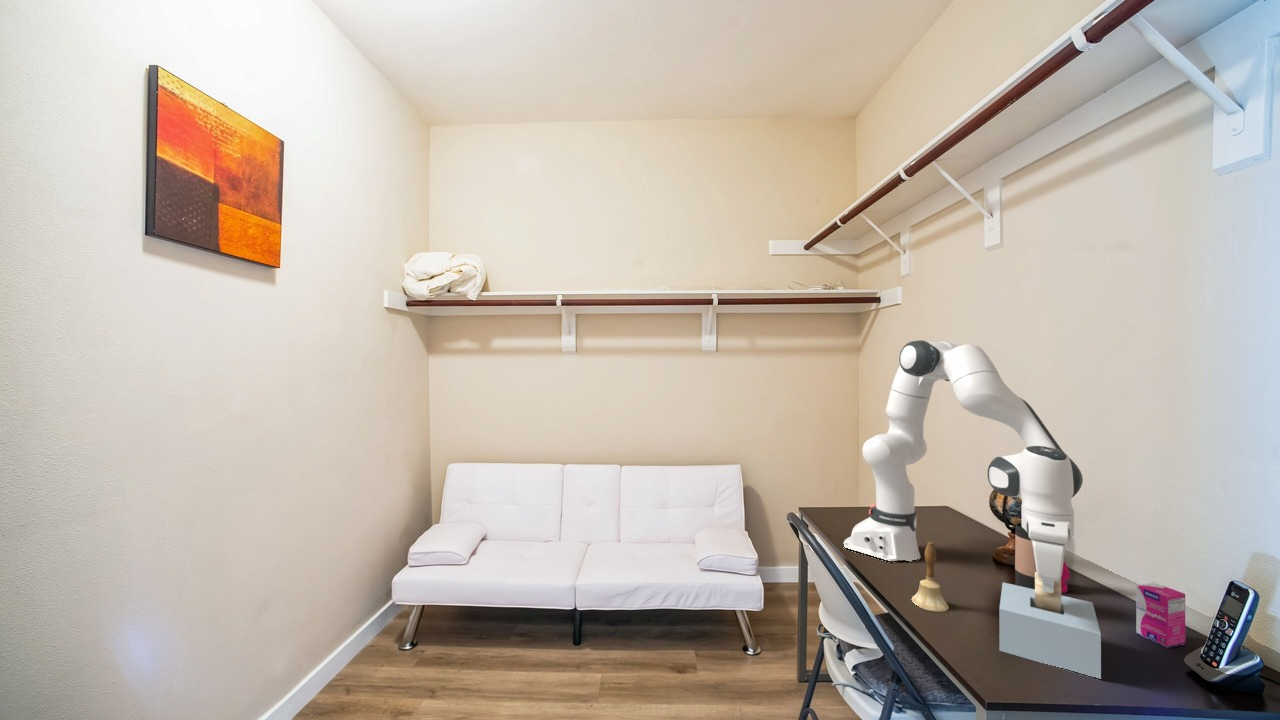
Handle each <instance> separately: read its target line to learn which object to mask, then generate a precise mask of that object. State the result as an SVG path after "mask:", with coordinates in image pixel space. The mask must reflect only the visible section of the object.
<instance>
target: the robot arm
mask: <svg viewBox="0 0 1280 720" xmlns="http://www.w3.org/2000/svg"><path fill="white" fill-rule="evenodd" d="M898 360H899V366H898V369H897V371H896V373H895V376H894V378H893V381H892V385H891V388H890V391H889V395H888V399H887V403H886V406H885V414H886V415H887V416H888V431H887V432H886V433H879V434H876V435H874V436H871V437H870V438H868V439H867V440H866V441H865V442H864V443H863V445H862V448H861V451H862V452H861V453H862V457H863V460H864V461H865V463H866V464H868V466H869V467H870V469H871V471H872V475H873V478H874V484H875V503H873V504H871V505H870V508H869V510H868V514H869V517H867V518H865V519H864V520H862V521H860V522H858V523H857V524H855V526H853V528H852V531H851V534H850V536H848V537H847V538H846V539H844V541H843V544H844V547H845V548H848V549H851V550H854V551H858V552H861V553H864V554H868V555H871V556H874V557H877V558H881V559H884V560H888V561H897V560H906V561H909V562H913V561H912V560H916V561H918V560H920V559H921V558H922V557H921V553H920V550H919V546H918V542H917V541H918V540H917V536H916V530H917V524H918V523H917V522H918V521H917V519H918V518H917V513H916V511H915V487H914V485H913V483H912V482H910V479H909V476H908V473H907V466H909V465H912V464H915V463H917V462H918V461H920V460H921V459H922V458H924V457H925V456H926V453H927V450H928V447H927V446H928V445H927V443H926V440H925V439H924V421H925V419H926V418H925V417H926V413H927V409H928V405H929V402H930V399H931V394H932V391H933V388H934V387H933V386H934V385H935V383H936V382H937V381H939V380H942V381H943V380H944V381H946V382H949V384H950V386H951V388H952V390H953V394H954V396H955V399H956V400H957V402H958V404H959V405H960V406H961V407H962V408H963V409H964V410H966V411H967V412H969V413H971V414H973V415H976V416H979V417H983V418H986V419H990V420H993V421H996V422H999V423H1001V424H1004V425H1007V426H1008V427H1010V428H1011V429H1013V431H1015V432H1016V433H1017V434H1018V436H1019V437H1020V439H1021V440H1022V441H1023V444H1025V446H1026V447H1025V448H1023V449H1022V451H1020V452H1017V453H1014V454H1009V455H1002V456H996V457H995V458H993V459H992V460H991V461H990V463H989V465H988V467H987V480H988V483H989V485H990V487H991V488H992V489H993V490H994V491H995V492H996V493H998V494H999V495H1001V496H1005V497H1009V498H1019V499H1020V500H1021V505H1020V508H1021V510H1020V511H1021V514H1020V515H1021V523H1022V528H1024V529H1025V530H1026V532H1027V533H1028V535H1029V538H1031V541H1032V545H1033V551H1034V558H1035V564H1036V570H1037V575H1038V577H1039V578H1042V582H1043V591H1044V592H1048V593H1053V592H1054V581H1057V582H1059V581H1060V580H1061V576H1062V570H1063V562H1064V561H1065V560H1064V559H1065V551H1066V545H1070V544H1069V543H1070V539H1072V537H1074V536H1075V514H1074V513H1075V511H1074V507H1073V506H1072V499H1073V498H1074V497H1075V496H1076V495H1077V494H1078V493H1079V491H1080V490H1081V488H1082V486H1083V481H1084V479H1083V474H1082V471H1081V469H1080V468H1079V466H1078V465H1077V464H1076V463H1075V461H1073V459H1071V457H1070V456H1069V455H1068V454H1067V453H1065V451H1064V450H1063V449H1062V448H1061V446H1060V445H1059V444H1058V442H1057V441H1056V439H1055V438H1054V436H1052V434H1051V432H1050V431H1049V430H1048V428H1047V426H1046V425H1045V423H1043V421H1042V420H1041V418H1040V417H1039V415H1038V414H1037V413H1036V411H1035V410H1034V409H1033V408H1032V406H1031V405H1030V404H1029V403H1028V402H1027V401H1026V400H1024V399H1023V398H1022V397H1020V396H1018V395H1017V394H1016V393H1014V391H1012V389H1010V387H1009V386H1008V385H1007V384H1006V383H1005V382H1004V381H1003V378H1002V377H1001V374H1000V373H999V372H998V370H997V368H996V366H995V365H994V363H993V361H992V360H991V359H990V357H989V356H988V354H987V353H986V352H985V350H984V349H983V348H981V347H980V346H978V345H976V344H971V343H970V344H969V343H967V344H966V343H965V344H957V343H956V344H955V343H952V342H947V341H926V340H912V341H909V342H906V343H905V345H903V346H902V348H901V350H900V352H899V359H898ZM844 547H843V548H844ZM845 548H844V549H845ZM917 559H918V560H917Z"/></svg>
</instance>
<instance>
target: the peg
mask: <svg viewBox="0 0 1280 720" xmlns="http://www.w3.org/2000/svg"><path fill="white" fill-rule="evenodd" d="M1061 596H1062V593H1061V580H1060V581H1059V582H1057V581H1054V592H1053V593H1048V592H1044V591H1043V582H1042V578H1039V577H1038V575H1037V572H1035V608H1038V609H1042V610H1046V611H1050V612H1054V613H1058V614H1061Z"/></svg>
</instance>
